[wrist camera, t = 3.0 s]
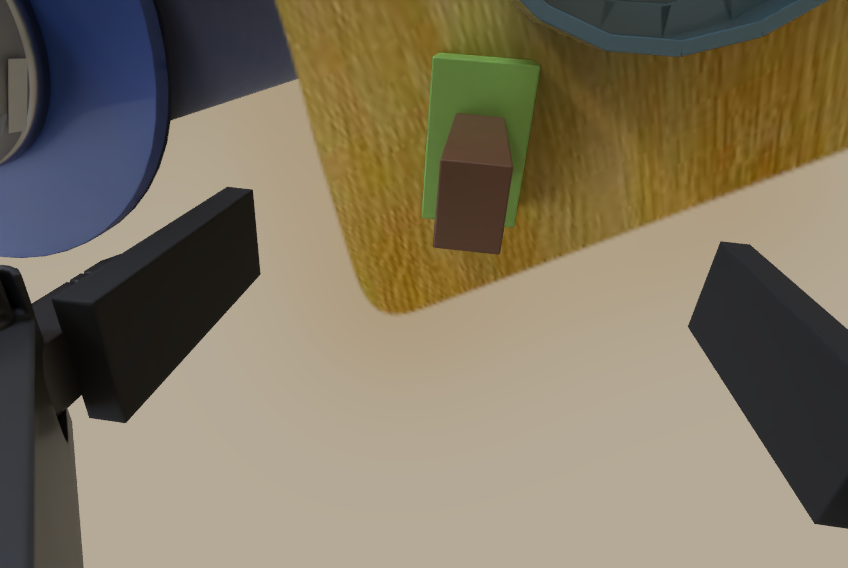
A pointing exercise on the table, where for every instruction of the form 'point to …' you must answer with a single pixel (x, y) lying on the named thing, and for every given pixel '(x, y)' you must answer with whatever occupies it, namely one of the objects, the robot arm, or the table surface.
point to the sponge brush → (476, 147)
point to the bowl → (663, 22)
